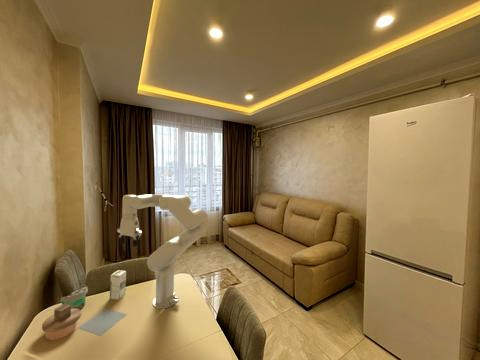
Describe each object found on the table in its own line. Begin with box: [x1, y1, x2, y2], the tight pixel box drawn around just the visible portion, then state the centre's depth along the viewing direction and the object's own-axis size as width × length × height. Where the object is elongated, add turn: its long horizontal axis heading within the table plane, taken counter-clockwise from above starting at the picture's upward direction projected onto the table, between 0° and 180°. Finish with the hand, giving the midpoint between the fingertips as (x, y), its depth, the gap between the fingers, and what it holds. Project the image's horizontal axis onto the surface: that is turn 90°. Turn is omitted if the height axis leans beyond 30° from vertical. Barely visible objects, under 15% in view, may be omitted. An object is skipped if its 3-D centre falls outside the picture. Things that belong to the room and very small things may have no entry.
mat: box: [77, 307, 128, 337], centre depth 95 cm, size 14×14×1 cm
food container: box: [59, 284, 89, 311], centre depth 102 cm, size 12×6×10 cm, turn 168°
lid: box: [41, 304, 82, 332], centre depth 88 cm, size 13×13×6 cm
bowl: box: [44, 319, 79, 341], centre depth 88 cm, size 10×10×5 cm
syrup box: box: [109, 269, 127, 300], centre depth 113 cm, size 6×6×14 cm
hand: (128, 244), depth 115 cm, fingers open, 9 cm apart
